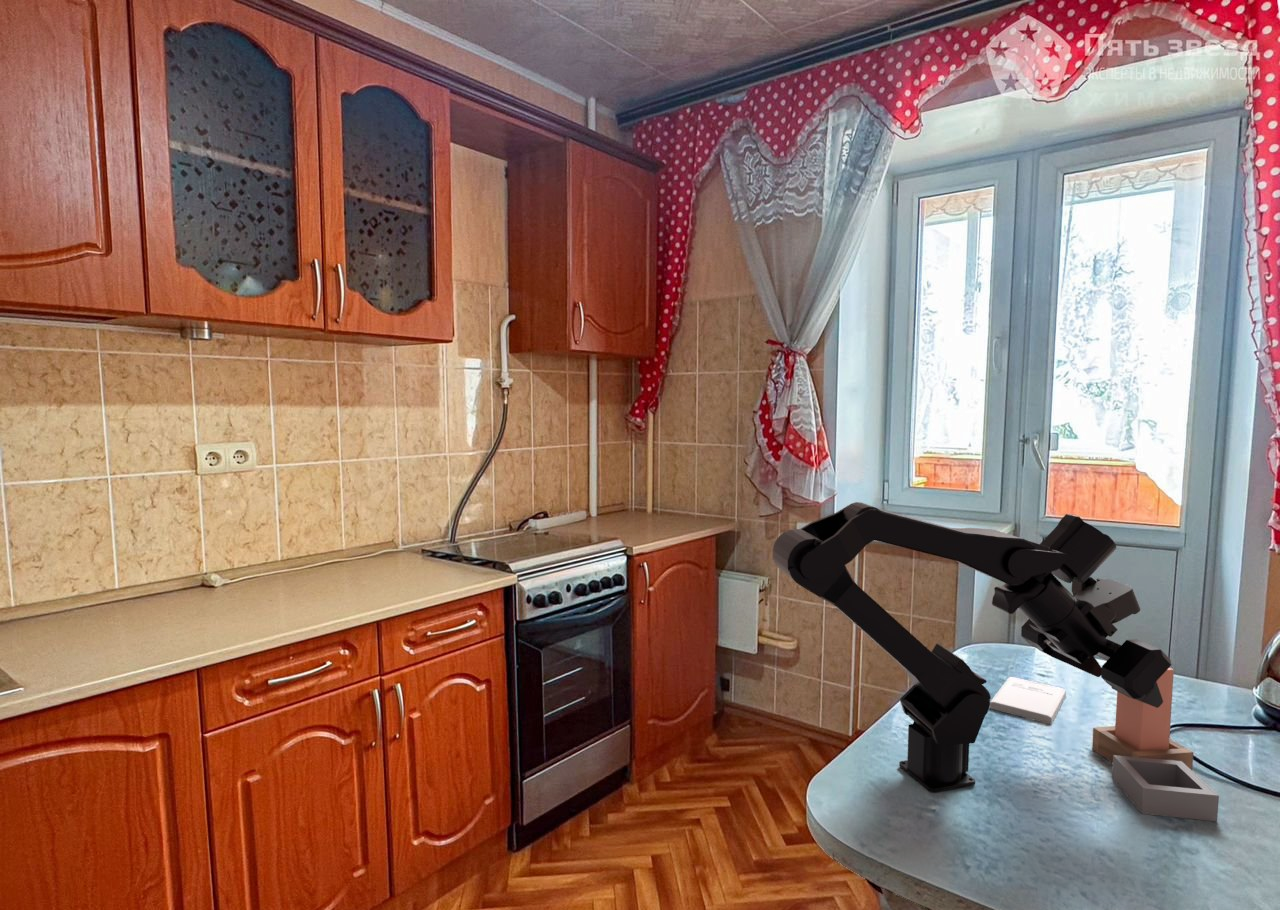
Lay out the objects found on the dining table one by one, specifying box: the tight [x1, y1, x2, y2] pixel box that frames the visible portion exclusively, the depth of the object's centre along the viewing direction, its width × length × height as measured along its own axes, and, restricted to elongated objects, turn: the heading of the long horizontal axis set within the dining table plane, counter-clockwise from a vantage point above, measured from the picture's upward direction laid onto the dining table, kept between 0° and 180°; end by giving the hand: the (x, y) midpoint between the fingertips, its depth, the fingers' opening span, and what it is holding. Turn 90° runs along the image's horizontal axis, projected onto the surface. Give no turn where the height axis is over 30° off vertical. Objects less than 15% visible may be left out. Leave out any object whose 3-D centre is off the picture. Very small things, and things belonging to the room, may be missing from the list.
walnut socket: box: [1091, 725, 1194, 771], centre depth 89 cm, size 7×7×3 cm
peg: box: [1114, 667, 1175, 751], centre depth 89 cm, size 4×4×13 cm
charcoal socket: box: [1111, 755, 1220, 822], centre depth 81 cm, size 7×7×3 cm
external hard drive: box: [989, 676, 1067, 725], centre depth 107 cm, size 2×8×12 cm
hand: (1128, 688), depth 88 cm, fingers open, 9 cm apart
